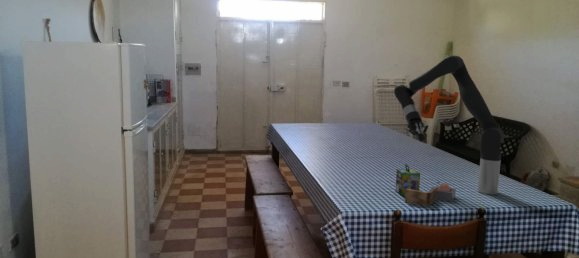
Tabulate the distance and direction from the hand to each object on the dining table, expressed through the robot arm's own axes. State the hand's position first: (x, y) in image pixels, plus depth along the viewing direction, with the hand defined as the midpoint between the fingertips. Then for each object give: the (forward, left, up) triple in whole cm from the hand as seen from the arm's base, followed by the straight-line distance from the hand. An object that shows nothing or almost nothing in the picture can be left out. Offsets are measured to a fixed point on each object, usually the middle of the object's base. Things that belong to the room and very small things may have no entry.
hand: (422, 140), depth 224 cm
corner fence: (-7, +27, -24) cm, 37 cm away
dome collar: (-15, +15, -24) cm, 32 cm away
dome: (-15, +15, -23) cm, 32 cm away
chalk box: (+1, +19, -24) cm, 31 cm away
